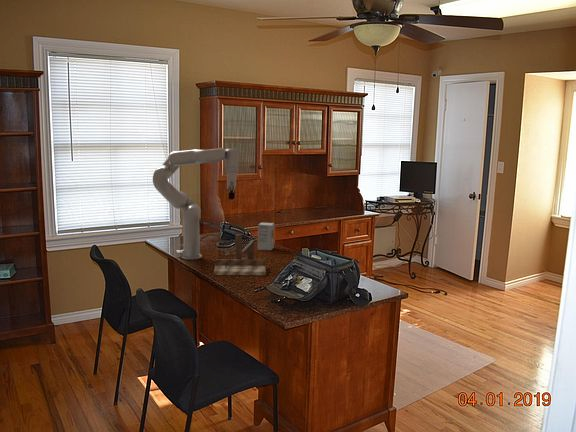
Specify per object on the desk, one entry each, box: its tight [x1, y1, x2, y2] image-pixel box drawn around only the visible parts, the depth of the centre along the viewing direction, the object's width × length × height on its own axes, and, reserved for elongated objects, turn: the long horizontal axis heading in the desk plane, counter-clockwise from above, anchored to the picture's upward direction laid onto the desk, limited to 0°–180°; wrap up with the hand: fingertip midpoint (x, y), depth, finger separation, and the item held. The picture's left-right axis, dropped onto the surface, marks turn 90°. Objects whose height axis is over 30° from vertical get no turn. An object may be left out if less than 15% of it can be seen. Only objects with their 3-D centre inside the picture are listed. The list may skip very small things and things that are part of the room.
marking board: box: [213, 258, 267, 276], centre depth 280 cm, size 28×14×5 cm, turn 94°
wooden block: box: [234, 233, 255, 260], centre depth 293 cm, size 4×11×18 cm, turn 111°
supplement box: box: [257, 222, 275, 251], centre depth 334 cm, size 10×9×17 cm
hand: (231, 198), depth 303 cm, fingers open, 9 cm apart
